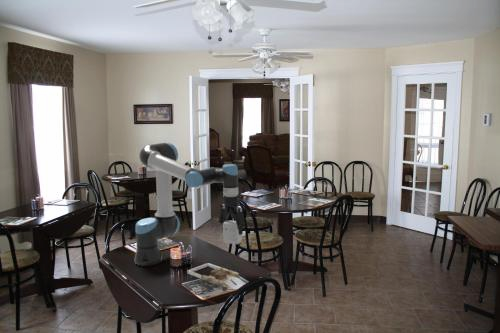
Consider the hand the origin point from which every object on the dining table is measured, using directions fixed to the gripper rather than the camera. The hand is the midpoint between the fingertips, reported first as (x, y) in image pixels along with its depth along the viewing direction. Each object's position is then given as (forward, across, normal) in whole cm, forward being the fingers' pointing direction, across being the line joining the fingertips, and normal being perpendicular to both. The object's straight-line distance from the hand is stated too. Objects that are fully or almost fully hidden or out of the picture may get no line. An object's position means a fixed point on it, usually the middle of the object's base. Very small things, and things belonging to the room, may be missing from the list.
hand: (232, 238), depth 219 cm
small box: (+2, 0, 0) cm, 2 cm away
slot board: (+18, +2, -12) cm, 21 cm away
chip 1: (+16, -1, -11) cm, 20 cm away
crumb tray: (+18, -9, -12) cm, 23 cm away
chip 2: (+16, +3, -12) cm, 20 cm away
